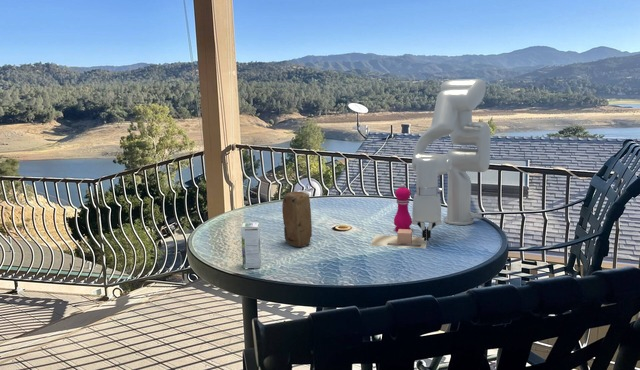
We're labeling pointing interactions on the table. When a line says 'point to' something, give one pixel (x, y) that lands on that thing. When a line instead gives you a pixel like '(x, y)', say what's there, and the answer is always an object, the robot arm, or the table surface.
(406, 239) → the block
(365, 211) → the table surface
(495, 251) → the table surface
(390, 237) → the board
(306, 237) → the block
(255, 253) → the syrup box
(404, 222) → the pepper mill
